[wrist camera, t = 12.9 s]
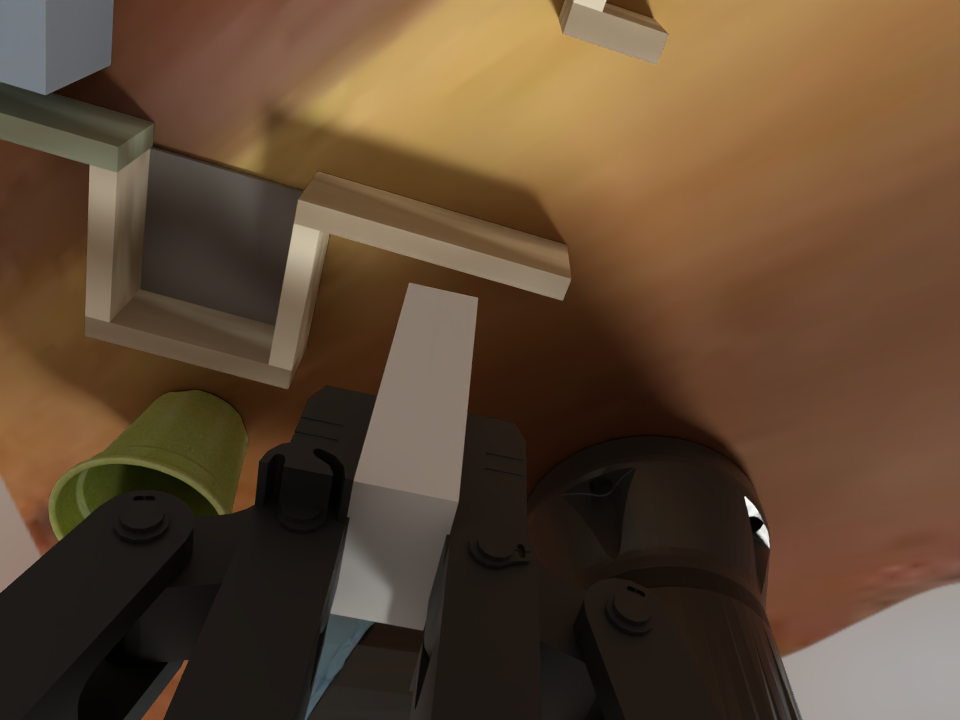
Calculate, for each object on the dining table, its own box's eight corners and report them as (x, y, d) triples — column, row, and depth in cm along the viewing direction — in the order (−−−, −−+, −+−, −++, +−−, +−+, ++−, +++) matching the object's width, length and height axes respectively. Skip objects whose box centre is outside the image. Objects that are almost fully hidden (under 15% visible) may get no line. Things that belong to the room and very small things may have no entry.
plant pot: (305, 418, 47) (265, 519, 39) (234, 511, 51) (185, 619, 43) (160, 334, 44) (88, 426, 37) (98, 440, 48) (22, 542, 41)
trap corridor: (506, 403, 45) (504, 446, 42) (-71, 248, 42) (-123, 281, 38) (750, -233, 30) (780, -248, 26) (-142, -573, 26) (-242, -640, 23)
